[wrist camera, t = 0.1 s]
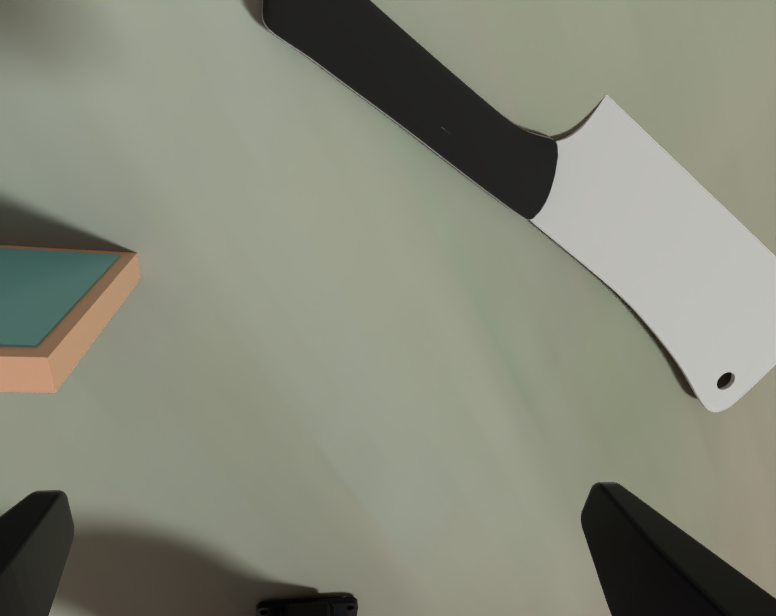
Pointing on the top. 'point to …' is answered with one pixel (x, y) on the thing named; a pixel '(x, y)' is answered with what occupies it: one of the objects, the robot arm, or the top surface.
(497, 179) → the kitchen cleaver
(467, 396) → the top surface
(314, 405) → the top surface
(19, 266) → the tile
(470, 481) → the top surface
